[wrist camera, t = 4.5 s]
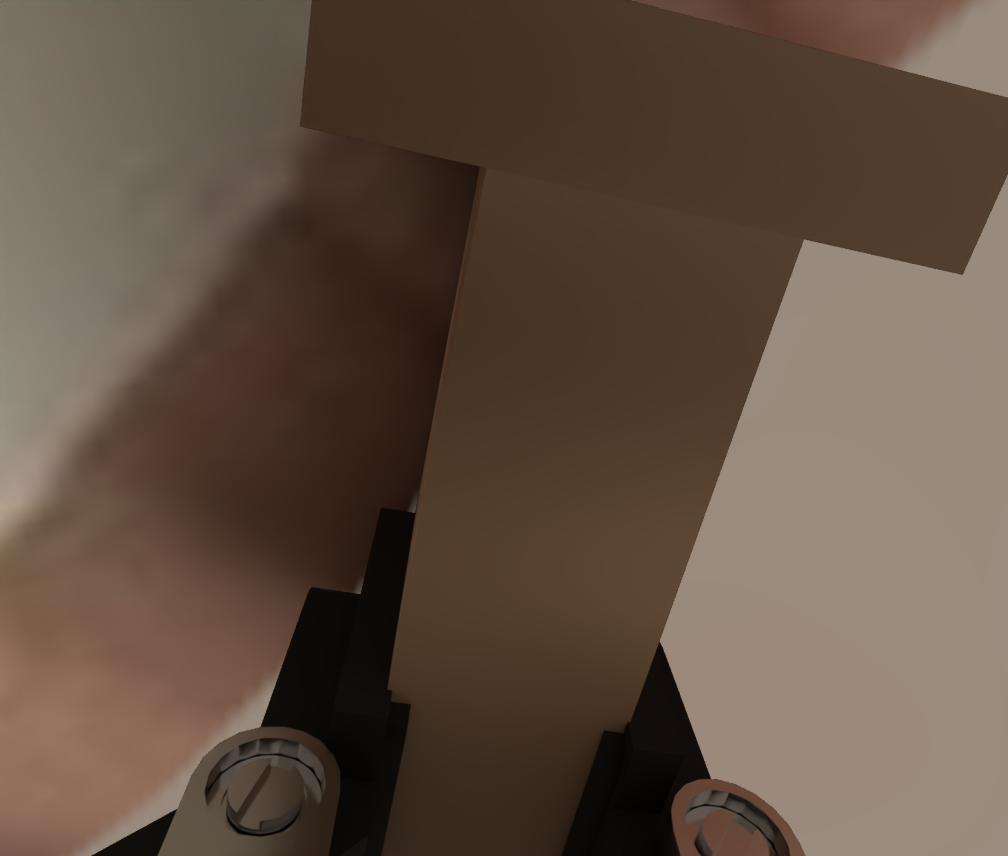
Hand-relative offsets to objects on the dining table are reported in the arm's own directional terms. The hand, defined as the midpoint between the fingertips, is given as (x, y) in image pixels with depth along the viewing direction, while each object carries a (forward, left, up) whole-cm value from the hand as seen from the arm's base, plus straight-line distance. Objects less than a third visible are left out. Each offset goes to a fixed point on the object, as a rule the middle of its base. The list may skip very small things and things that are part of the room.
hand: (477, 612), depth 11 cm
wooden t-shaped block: (0, 0, 0) cm, 1 cm away
